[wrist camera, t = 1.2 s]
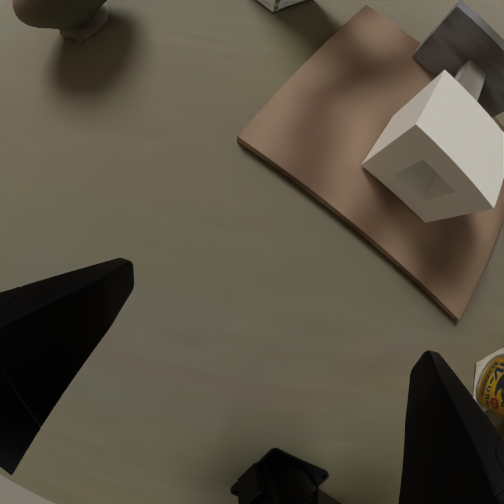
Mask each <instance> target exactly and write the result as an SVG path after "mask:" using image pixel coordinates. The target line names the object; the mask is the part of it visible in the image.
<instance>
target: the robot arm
mask: <svg viewBox="0 0 504 504" xmlns="http://www.w3.org/2000/svg"><path fill="white" fill-rule="evenodd" d="M133 287H134V272H133V263H132V262H131V261H129V260H126V259H123V258H117V259H114V260H110V261H106V262H103V263H99V264H96V265H92V266H89V267H85V268H82V269H78V270H75V271H71V272H68V273H64V274H61V275H57V276H54V277H51V278H47V279H44V280H41V281H37V282H34V283H31V284H27V285H24V286H22V287H17V288H14V289H11V290H7V291H4V292H1V293H0V467H1V468H3V469H4V470H5V471H6V472H8V473H9V474H10V475H12V474H13V473H14V471H15V470H16V468H17V466H18V464H19V463H20V461H21V459H22V458H23V456H24V454H25V453H26V451H27V449H28V448H29V446H30V444H31V443H32V441H33V440H34V438H35V436H36V435H37V433H38V432H39V430H40V428H41V426H42V425H43V423H44V422H45V420H46V419H47V417H48V416H49V414H50V412H51V411H52V409H53V408H54V406H55V405H56V403H57V402H58V400H59V399H60V397H61V396H62V394H63V393H64V391H65V390H66V389H67V387H68V386H69V384H70V383H71V381H72V380H73V378H74V377H75V375H76V374H77V373H78V371H79V370H80V368H81V367H82V366H83V364H84V363H85V361H86V360H87V358H88V357H89V356H90V354H91V353H92V352H93V350H94V349H95V347H96V346H97V345H98V343H99V342H100V341H101V339H102V338H103V337H104V335H105V334H106V332H107V331H108V330H109V328H110V327H111V325H112V323H113V322H114V320H115V319H116V317H117V315H118V313H119V312H120V310H121V308H122V307H123V305H124V303H125V302H126V300H127V298H128V297H129V295H130V294H131V292H132V290H133ZM273 453H277V454H276V455H273ZM323 474H324V475H323ZM321 475H323V476H321ZM327 477H328V472H327V471H326V470H324V469H321V468H319V467H317V466H314V465H312V464H310V463H308V462H305V461H303V460H301V459H299V458H297V457H294V456H292V455H290V454H288V453H286V452H284V451H282V450H280V449H278V448H273V449H271V450H270V451H269V452H268V453H267V454H266V455H265V456H264V457H263V458H262V459H261V460H260V461H259V462H258V463H255V464H253V465H252V466H251V467H250V468H249V469H248V470H247V471H246V472H245V473H244V474H243V475H242V476H241V477H240V478H239V479H238V482H236V483H235V484H234V485H233V486H232V487H231V493H232V494H233V495H235V496H238V502H239V504H341V503H339V502H338V501H336V500H335V499H333V498H332V497H330V496H329V495H327V494H326V493H324V492H323V491H321V490H320V489H319V488H318V486H319V485H320V484H321V483H322V482H323V481H324V480H325V479H327ZM235 490H238V491H235ZM399 504H504V441H503V439H502V437H501V436H500V434H498V432H497V430H496V429H495V427H494V426H493V424H492V423H491V422H490V420H489V419H488V417H487V416H486V414H485V413H484V412H483V410H482V409H481V408H480V406H479V405H478V403H477V402H476V401H475V399H474V398H473V397H472V395H471V394H470V393H469V391H468V390H467V389H466V387H465V386H464V385H463V383H462V382H461V381H460V379H459V378H458V377H457V376H456V374H455V373H454V372H453V370H452V369H451V368H450V367H449V365H448V364H447V363H446V362H445V360H444V359H443V358H442V356H441V355H440V354H439V353H437V352H433V351H429V350H428V351H426V352H424V353H423V355H422V356H421V358H420V359H419V360H418V362H417V363H416V364H415V366H414V367H413V369H412V371H411V374H410V383H409V393H408V402H407V410H406V421H405V442H404V458H403V469H402V479H401V488H400V496H399Z"/></svg>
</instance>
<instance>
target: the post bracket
mask: <svg viewBox="0 0 504 504" xmlns="http://www.w3.org/2000/svg"><path fill="white" fill-rule="evenodd" d="M444 70H446V71H447V72H448V73H449V74H450V75H451V76H452V77H453V78H454V79H455V80H456V81H457V82H458V83H460V84H461V85H462V86H463V87H464V88H465V89H466V91H467V92H468V93H469V94H470V95H471V96H472V97H473V98H474V99H475V100H476V101H477V102H478V103H479V104H480V105H481V106H482V108H483V109H484V110H485V111H486V112H487V113H488V114H489V115H490V117H491V118H492V119H493V120H494V121H495V123H496V124H497V125H498V126H499V127H500V129H501V130H502V131H503V132H504V127H503V126H502V124H501V123H500V122H499V121H498V119H497V118H496V117H495V116H496V115H498V114H500V113H502V112H503V111H504V40H503V39H502V38H501V37H500V36H499V35H498V34H497V33H496V32H495V31H494V30H493V29H492V28H491V27H490V26H489V25H488V24H487V23H486V22H485V21H484V20H483V19H482V18H481V17H480V16H479V15H478V14H476V13H475V12H474V11H473V10H472V9H471V8H470V7H469V6H467V5H466V4H465V3H464V2H463V1H462V0H460V1H459V2H458V3H457V4H456V5H455V6H454V8H453V9H452V10H451V11H450V12H449V13H448V14H447V15H446V16H445V18H444V19H443V20H442V21H441V22H440V23H439V24H438V25H437V27H436V28H435V29H434V30H433V31H432V32H431V33H430V34H429V36H428V37H427V38H426V39H425V40H424V41H423V42H422V43H421V44H420V43H419V42H418V41H416V40H415V39H414V38H413V37H411V36H410V35H409V34H407V33H406V32H405V31H403V30H402V29H401V28H399V27H398V26H397V25H395V24H394V23H392V22H391V21H390V20H388V19H387V18H385V17H384V16H382V15H381V14H379V13H378V12H376V11H375V10H373V9H372V8H370V7H368V6H367V5H366V6H364V7H363V8H362V9H361V10H360V11H359V12H358V13H357V14H355V15H354V16H353V17H352V18H351V19H350V20H349V21H348V22H347V23H346V24H344V25H343V26H342V27H341V28H340V29H339V30H338V31H337V32H336V33H335V34H334V35H333V36H332V37H331V38H330V39H329V40H327V41H326V42H325V43H324V44H323V45H322V46H321V47H320V48H319V49H318V50H317V51H316V52H315V53H314V54H313V55H312V56H311V57H310V58H309V59H308V60H307V61H306V62H305V63H304V64H303V65H302V66H301V67H300V68H299V69H298V70H297V71H296V72H295V73H294V74H293V75H292V77H291V78H290V79H289V80H288V81H287V82H286V83H285V84H284V85H283V86H282V87H281V88H280V89H279V90H278V91H277V92H276V93H275V95H274V96H273V97H272V98H271V99H270V100H269V101H268V102H267V103H266V104H265V105H264V107H263V108H262V109H261V110H260V111H259V112H258V113H257V114H256V115H255V117H254V118H253V119H252V120H251V121H250V122H249V123H248V125H247V126H246V127H245V128H244V129H243V130H242V131H241V133H240V134H239V135H238V136H237V142H239V143H240V144H242V145H243V146H245V147H246V148H247V149H249V150H250V151H252V152H253V153H255V154H256V155H257V156H259V157H260V158H262V159H263V160H265V161H266V162H267V163H269V164H270V165H271V166H273V167H274V168H276V169H277V170H278V171H280V172H281V173H282V174H284V175H285V176H287V177H288V178H289V179H291V180H292V181H293V182H295V183H296V184H297V185H299V186H300V187H301V188H303V189H304V190H305V191H306V192H308V193H309V194H310V195H312V196H313V197H314V198H316V199H317V200H318V201H319V202H321V203H322V204H323V205H325V206H326V207H327V208H328V209H330V210H331V211H332V212H333V213H335V214H336V215H337V216H338V217H340V218H341V219H342V220H343V221H345V222H346V223H347V224H348V225H349V226H351V227H352V228H353V229H354V230H356V231H357V232H358V233H359V234H360V235H362V236H363V237H364V238H365V239H366V240H367V241H369V242H370V243H371V244H372V245H373V246H375V247H376V248H377V249H378V250H379V251H380V252H382V253H383V254H384V255H385V256H386V257H387V258H388V259H390V260H391V261H392V262H393V263H394V264H395V265H396V266H397V267H399V268H400V269H401V270H402V271H403V272H404V273H405V274H406V275H407V276H409V277H410V278H411V279H412V280H413V281H414V282H415V283H416V284H417V285H418V286H419V287H421V288H422V289H423V290H424V291H425V292H426V293H427V294H428V295H429V296H430V297H431V298H432V299H433V300H434V301H435V302H436V303H437V304H439V305H440V306H441V307H442V308H443V309H444V310H445V311H446V312H447V313H448V314H449V315H450V316H451V317H452V318H453V319H457V320H460V318H461V316H462V314H463V312H464V310H465V308H466V306H467V304H468V302H469V300H470V298H471V296H472V294H473V292H474V290H475V288H476V286H477V284H478V282H479V280H480V277H481V275H482V273H483V271H484V268H485V266H486V264H487V261H488V259H489V257H490V254H491V252H492V249H493V247H494V244H495V241H496V239H497V236H498V233H499V231H500V228H501V225H502V222H503V219H504V179H503V182H502V186H501V189H500V192H499V195H498V198H497V201H496V204H495V207H494V209H489V210H484V211H480V212H475V213H470V214H465V215H460V216H455V217H451V218H446V219H441V220H436V221H431V222H426V223H425V222H424V221H423V220H422V219H421V218H420V217H419V216H418V215H417V214H416V213H415V212H413V211H412V210H411V209H410V208H409V207H408V206H407V205H406V204H405V203H404V202H403V201H402V200H401V199H400V198H398V197H397V196H396V195H395V194H394V193H393V192H392V191H391V190H390V189H388V188H387V187H386V186H385V185H384V184H383V183H382V182H380V181H379V180H378V179H377V178H376V177H375V176H373V175H372V174H371V173H370V172H369V171H368V170H366V169H365V168H364V167H363V166H362V165H361V164H362V163H363V161H364V160H365V158H366V157H367V155H368V154H369V152H370V151H371V149H372V148H373V146H374V145H375V143H376V142H377V140H378V138H379V137H380V135H381V134H382V132H383V131H384V129H385V128H386V126H387V125H388V123H389V121H390V120H391V118H392V117H393V115H395V114H396V113H397V112H398V111H399V110H400V109H401V108H402V107H403V106H405V105H406V104H407V103H408V102H409V101H410V100H411V99H412V98H413V97H415V96H416V95H417V94H418V93H419V92H420V91H421V90H422V89H424V88H425V87H426V86H427V85H428V84H429V83H430V82H431V81H432V80H434V79H435V78H436V77H437V76H438V75H439V74H440V73H441V72H443V71H444Z"/></svg>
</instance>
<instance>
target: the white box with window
mask: <svg viewBox="0 0 504 504" xmlns="http://www.w3.org/2000/svg"><path fill="white" fill-rule="evenodd" d="M361 165H362V166H363V167H364V168H365V169H366V170H368V171H369V172H370V173H371V174H372V175H373V176H375V177H376V178H377V179H378V180H379V181H380V182H382V183H383V184H384V185H385V186H386V187H387V188H388V189H390V190H391V191H392V192H393V193H394V194H395V195H396V196H397V197H398V198H400V199H401V200H402V201H403V202H404V203H405V204H406V205H407V206H408V207H409V208H410V209H411V210H412V211H413V212H415V213H416V214H417V215H418V216H419V217H420V218H421V219H422V220H423V221H424V222H425V223H426V222H431V221H436V220H441V219H446V218H451V217H455V216H460V215H465V214H470V213H475V212H480V211H484V210H489V209H494V207H495V204H496V201H497V198H498V195H499V192H500V189H501V186H502V182H503V179H504V132H503V131H502V130H501V129H500V127H499V126H498V125H497V124H496V123H495V121H494V120H493V119H492V118H491V117H490V115H489V114H488V113H487V112H486V111H485V110H484V109H483V108H482V106H481V105H480V104H479V103H478V102H477V101H476V100H475V99H474V98H473V97H472V96H471V95H470V94H469V93H468V92H467V91H466V89H465V88H464V87H463V86H462V85H461V84H460V83H458V82H457V81H456V80H455V79H454V78H453V77H452V76H451V75H450V74H449V73H448V72H447V71H446V70H444V71H443V72H441V73H440V74H439V75H438V76H437V77H436V78H435V79H434V80H432V81H431V82H430V83H429V84H428V85H427V86H426V87H425V88H424V89H422V90H421V91H420V92H419V93H418V94H417V95H416V96H415V97H413V98H412V99H411V100H410V101H409V102H408V103H407V104H406V105H405V106H403V107H402V108H401V109H400V110H399V111H398V112H397V113H396V114H395V115H393V117H392V118H391V120H390V121H389V123H388V125H387V126H386V128H385V129H384V131H383V132H382V134H381V135H380V137H379V138H378V140H377V142H376V143H375V145H374V146H373V148H372V149H371V151H370V152H369V154H368V155H367V157H366V158H365V160H364V161H363V163H362V164H361Z"/></svg>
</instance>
